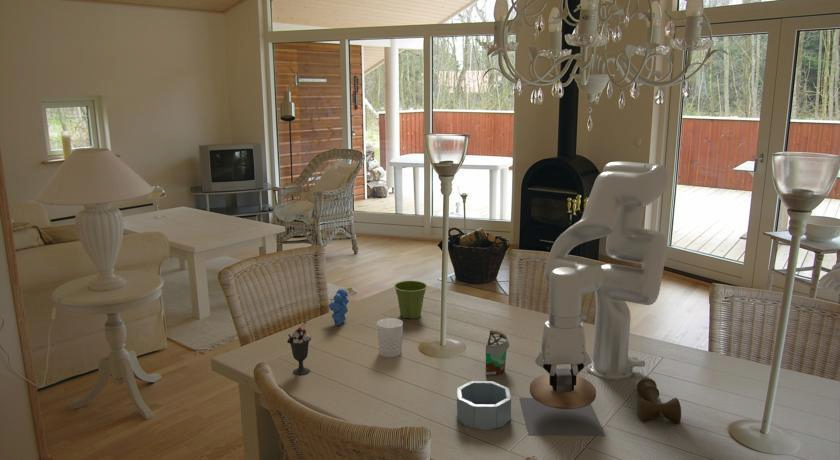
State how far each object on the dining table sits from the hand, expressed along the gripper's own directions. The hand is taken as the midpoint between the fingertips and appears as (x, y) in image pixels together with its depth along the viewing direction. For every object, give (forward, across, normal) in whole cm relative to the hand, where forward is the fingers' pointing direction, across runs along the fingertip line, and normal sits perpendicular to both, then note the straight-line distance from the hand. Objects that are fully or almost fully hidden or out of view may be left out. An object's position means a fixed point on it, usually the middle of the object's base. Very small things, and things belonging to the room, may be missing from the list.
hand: (562, 387), depth 157 cm
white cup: (+8, +46, -37) cm, 59 cm away
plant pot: (+9, +41, -69) cm, 81 cm away
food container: (+9, +14, -25) cm, 30 cm away
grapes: (+9, +66, -62) cm, 91 cm away
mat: (+8, +1, +1) cm, 8 cm away
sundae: (+7, +71, -24) cm, 75 cm away
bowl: (+7, +20, +1) cm, 21 cm away
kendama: (+9, -24, -2) cm, 25 cm away
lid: (+1, 0, 0) cm, 1 cm away
